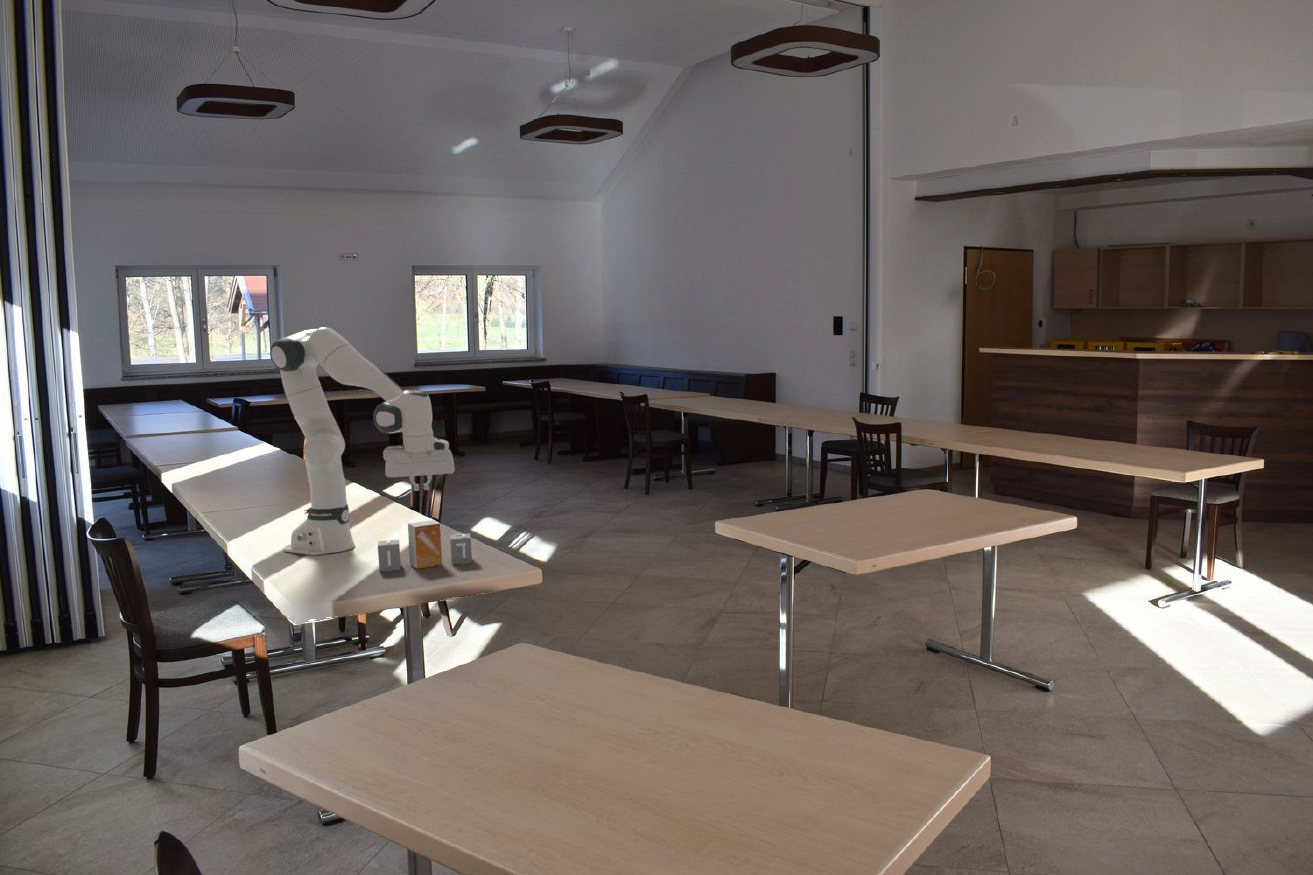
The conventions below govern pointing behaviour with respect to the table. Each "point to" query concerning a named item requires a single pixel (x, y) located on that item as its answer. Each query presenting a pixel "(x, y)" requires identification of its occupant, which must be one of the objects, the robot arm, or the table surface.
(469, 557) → the numbered block seven
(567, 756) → the table surface
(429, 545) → the small box
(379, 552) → the numbered block one
